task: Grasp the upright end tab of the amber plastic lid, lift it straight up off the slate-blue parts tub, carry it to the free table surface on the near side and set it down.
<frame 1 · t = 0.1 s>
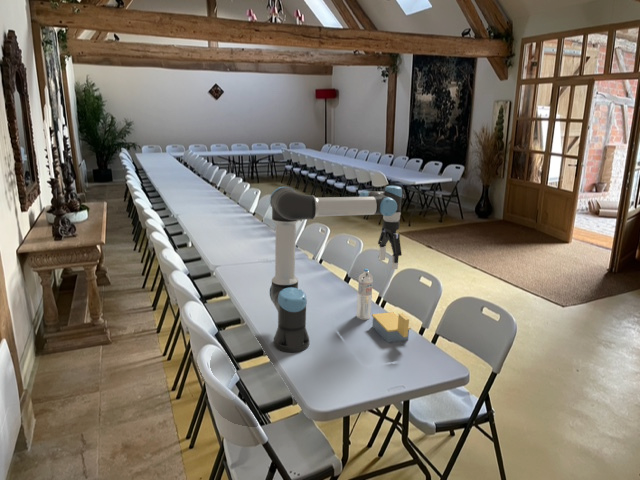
hand: (388, 264, 220), 28 cm above the table, fingers open, 13 cm apart
part a: (388, 336, 209), point 1 cm above the table, touching tub
tub: (389, 334, 212), on the table
lid: (390, 322, 211), point 6 cm above the table, touching tub
water bottle: (363, 318, 229), on the table
part b: (390, 328, 217), point 1 cm above the table, touching tub
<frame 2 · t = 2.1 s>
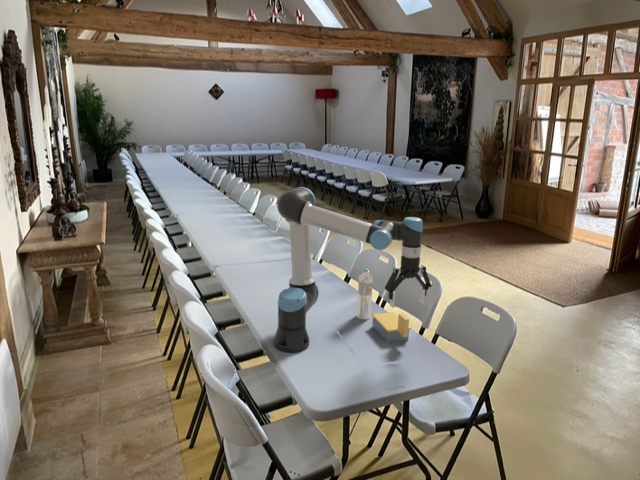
hand: (406, 304, 196), 20 cm above the table, fingers open, 13 cm apart
nothing on the table moved.
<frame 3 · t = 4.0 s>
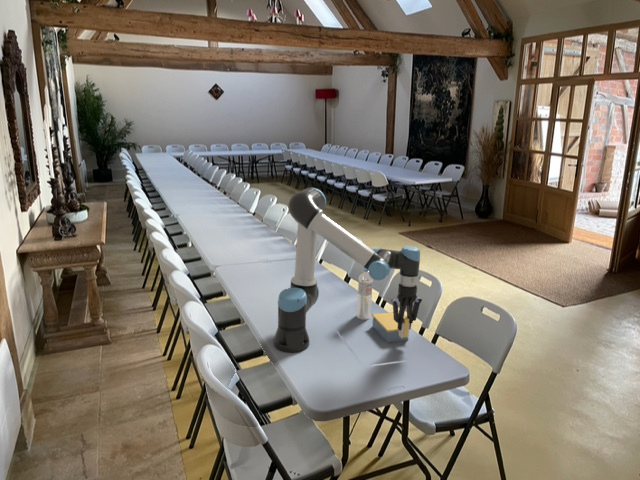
hand: (403, 336, 200), 5 cm above the table, fingers closed on lid, 2 cm apart
lid: (390, 322, 211), point 6 cm above the table, touching gripper, tub
everything else where it was.
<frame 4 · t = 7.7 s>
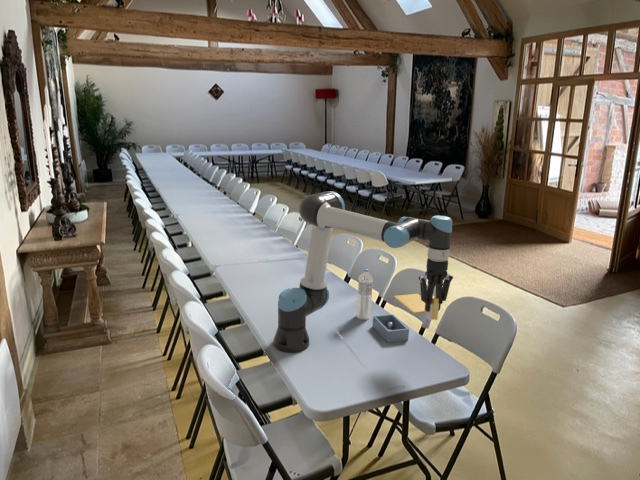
hand: (431, 318, 177), 23 cm above the table, fingers closed on lid, 2 cm apart
lid: (415, 304, 188), point 23 cm above the table, touching gripper
everything else where it was.
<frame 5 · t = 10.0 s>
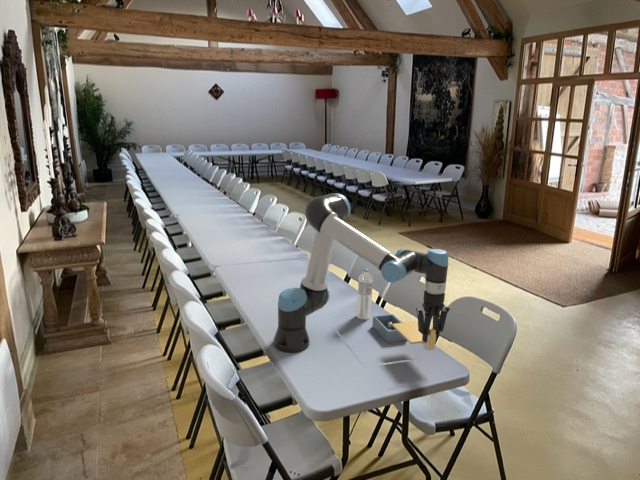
hand: (428, 348, 180), 10 cm above the table, fingers closed on lid, 2 cm apart
lid: (413, 333, 191), point 11 cm above the table, touching gripper
everything else where it was.
when the fingers open (2 cm above the table, at t = 11.7 s): lid drops 3 cm, on the table.
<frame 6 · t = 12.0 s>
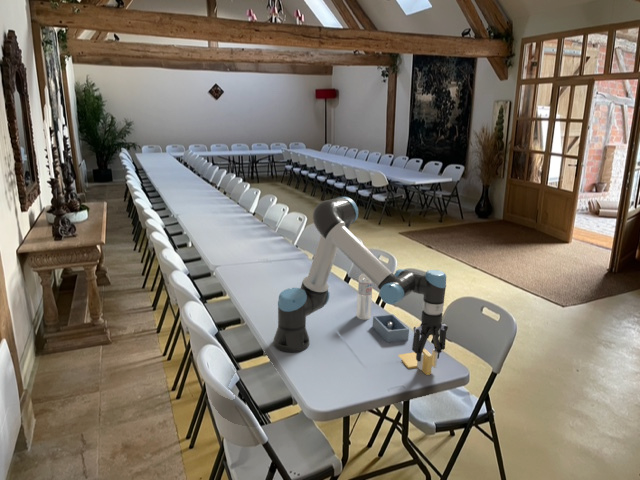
hand: (426, 366, 182), 2 cm above the table, fingers open, 5 cm apart
lid: (410, 356, 194), on the table
everything else where it was.
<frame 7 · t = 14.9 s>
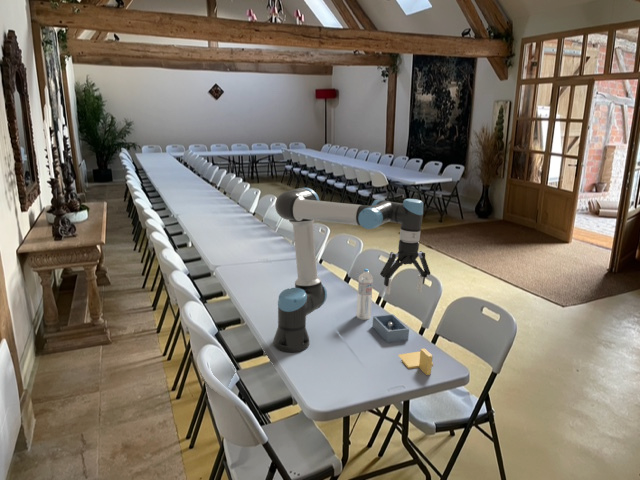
hand: (403, 292, 184), 29 cm above the table, fingers open, 13 cm apart
nothing on the table moved.
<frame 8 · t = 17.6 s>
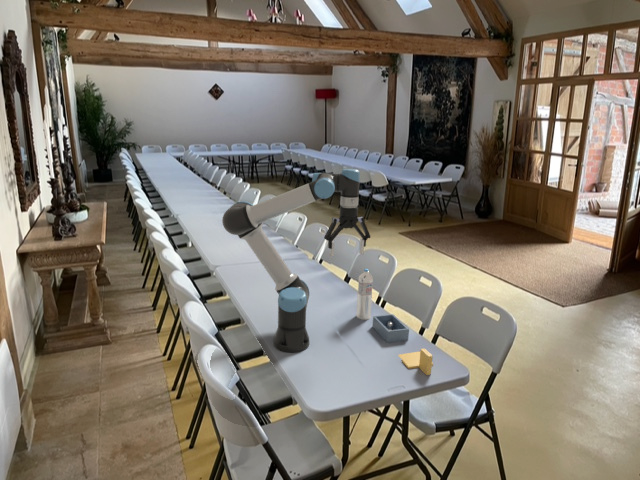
hand: (346, 254, 203), 37 cm above the table, fingers open, 13 cm apart
nothing on the table moved.
at the end: lid touching table; lid inside the target area (0.4 cm from its centre), on the table; the gripper is holding nothing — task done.
